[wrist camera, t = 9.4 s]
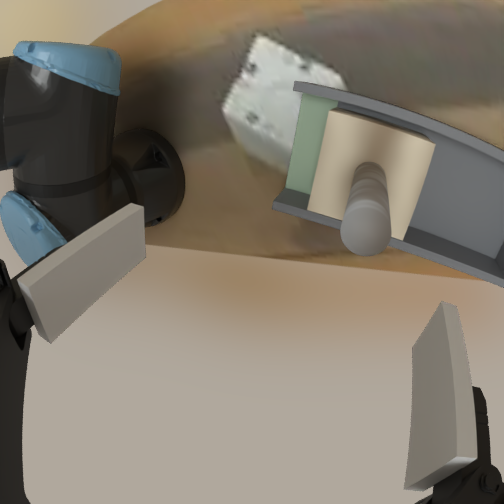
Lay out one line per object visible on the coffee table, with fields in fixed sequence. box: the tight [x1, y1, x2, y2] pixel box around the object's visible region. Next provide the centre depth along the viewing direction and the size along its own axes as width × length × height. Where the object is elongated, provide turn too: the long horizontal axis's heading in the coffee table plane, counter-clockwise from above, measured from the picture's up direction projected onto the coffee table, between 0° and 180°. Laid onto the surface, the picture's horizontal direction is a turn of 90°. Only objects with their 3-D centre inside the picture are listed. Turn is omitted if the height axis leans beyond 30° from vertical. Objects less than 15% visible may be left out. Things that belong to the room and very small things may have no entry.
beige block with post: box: [307, 107, 436, 256], centre depth 25 cm, size 10×10×19 cm
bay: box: [272, 81, 504, 288], centre depth 30 cm, size 30×14×6 cm, turn 80°
